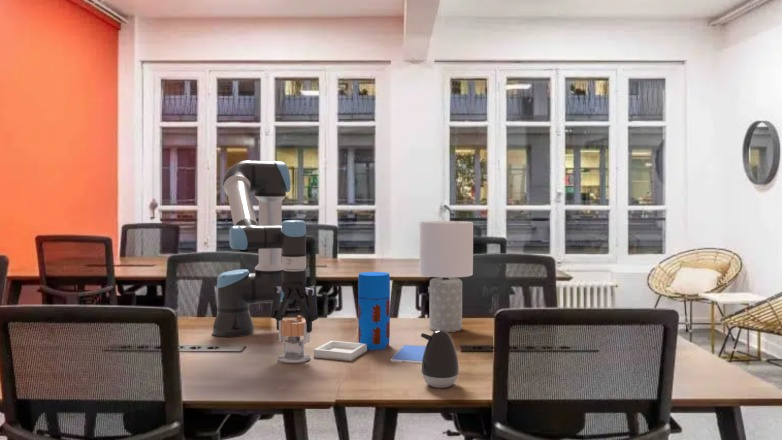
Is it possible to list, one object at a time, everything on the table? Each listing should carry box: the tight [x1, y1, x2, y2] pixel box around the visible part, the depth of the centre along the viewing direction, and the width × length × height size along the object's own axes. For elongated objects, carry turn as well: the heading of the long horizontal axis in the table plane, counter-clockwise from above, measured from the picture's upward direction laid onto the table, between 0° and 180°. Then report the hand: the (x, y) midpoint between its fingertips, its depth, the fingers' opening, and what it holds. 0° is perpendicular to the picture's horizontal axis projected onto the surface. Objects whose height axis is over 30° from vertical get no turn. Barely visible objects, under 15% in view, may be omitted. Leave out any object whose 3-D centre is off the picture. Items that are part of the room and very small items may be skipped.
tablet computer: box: [390, 344, 426, 365], centre depth 198 cm, size 19×13×1 cm, turn 166°
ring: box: [281, 315, 306, 337], centre depth 192 cm, size 8×8×5 cm
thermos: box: [357, 271, 391, 351], centre depth 209 cm, size 11×11×25 cm
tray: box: [313, 340, 368, 362], centre depth 198 cm, size 13×13×2 cm
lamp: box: [418, 220, 474, 333], centre depth 236 cm, size 21×21×42 cm
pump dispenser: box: [420, 330, 460, 389], centre depth 166 cm, size 10×10×15 cm
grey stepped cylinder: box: [277, 320, 311, 365], centre depth 192 cm, size 10×10×12 cm
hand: (294, 341), depth 192 cm, fingers closed on ring, 8 cm apart
